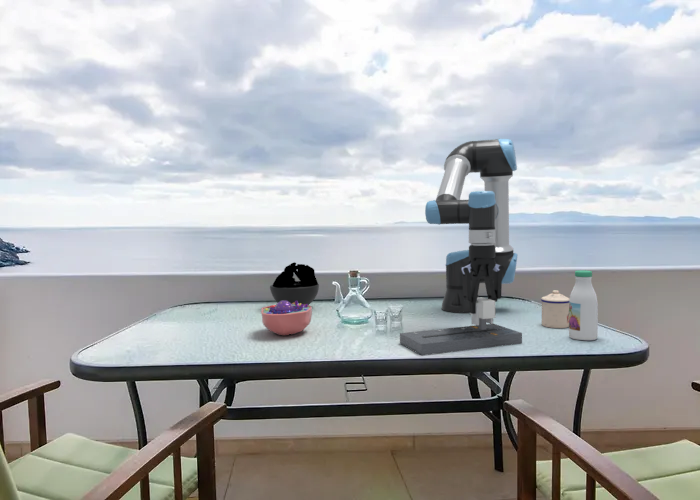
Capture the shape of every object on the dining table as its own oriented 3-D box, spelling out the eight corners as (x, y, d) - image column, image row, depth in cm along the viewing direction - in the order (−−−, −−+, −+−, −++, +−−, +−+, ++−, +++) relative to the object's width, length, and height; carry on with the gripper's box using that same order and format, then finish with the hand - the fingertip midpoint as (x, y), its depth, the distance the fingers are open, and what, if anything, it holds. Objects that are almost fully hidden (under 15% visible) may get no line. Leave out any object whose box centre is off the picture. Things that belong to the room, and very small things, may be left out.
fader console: (399, 343, 149) (399, 332, 149) (493, 333, 159) (493, 323, 159) (421, 355, 136) (421, 343, 135) (522, 343, 146) (522, 332, 146)
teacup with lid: (574, 328, 162) (574, 292, 162) (545, 328, 163) (545, 292, 163) (563, 321, 174) (563, 287, 174) (535, 321, 175) (535, 287, 175)
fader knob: (470, 327, 152) (469, 298, 152) (481, 326, 153) (481, 297, 153) (483, 332, 146) (483, 301, 145) (495, 330, 147) (495, 300, 146)
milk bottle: (595, 335, 153) (596, 269, 151) (599, 341, 145) (599, 272, 144) (567, 334, 155) (568, 269, 154) (569, 340, 148) (570, 272, 147)
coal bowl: (308, 314, 197) (307, 266, 195) (262, 312, 203) (260, 265, 202) (326, 305, 216) (325, 261, 214) (283, 304, 222) (282, 261, 220)
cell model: (320, 327, 174) (319, 294, 173) (303, 341, 154) (302, 304, 153) (273, 326, 177) (272, 294, 176) (250, 340, 158) (249, 303, 157)
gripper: (463, 246, 142) (463, 328, 143) (514, 243, 147) (514, 323, 149) (449, 244, 149) (450, 323, 150) (499, 242, 154) (499, 318, 156)
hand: (482, 323), depth 149 cm, fingers closed on fader knob, 4 cm apart
